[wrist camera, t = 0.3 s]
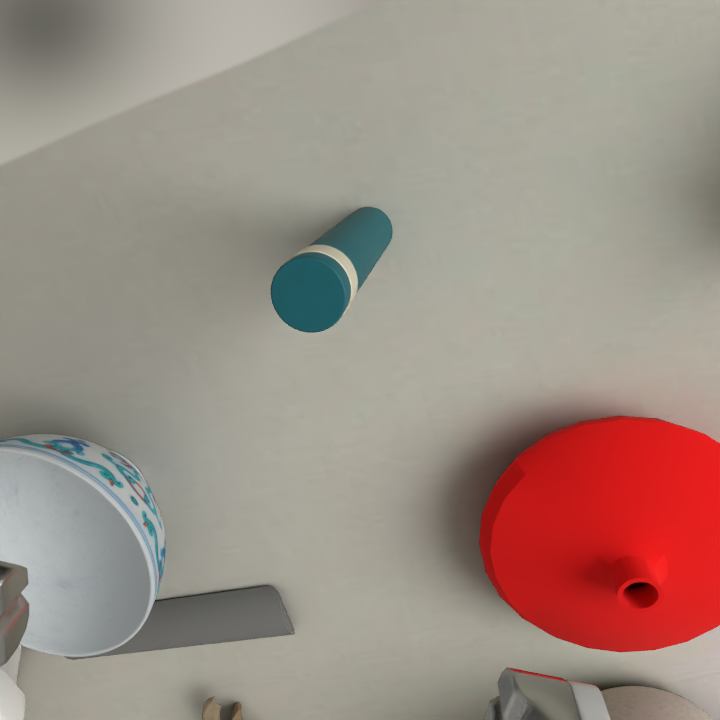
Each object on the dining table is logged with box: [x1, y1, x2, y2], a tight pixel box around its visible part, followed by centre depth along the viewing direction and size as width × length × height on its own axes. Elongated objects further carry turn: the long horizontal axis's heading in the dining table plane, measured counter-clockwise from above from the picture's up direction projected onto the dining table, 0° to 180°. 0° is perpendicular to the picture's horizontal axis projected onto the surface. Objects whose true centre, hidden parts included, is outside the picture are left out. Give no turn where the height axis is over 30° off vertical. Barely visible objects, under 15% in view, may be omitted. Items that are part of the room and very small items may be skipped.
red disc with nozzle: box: [479, 416, 720, 652], centre depth 33 cm, size 16×16×7 cm
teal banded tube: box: [271, 207, 392, 332], centre depth 26 cm, size 3×3×14 cm
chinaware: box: [0, 434, 165, 657], centre depth 38 cm, size 15×15×8 cm
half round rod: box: [64, 586, 295, 659], centre depth 45 cm, size 4×20×2 cm, turn 107°
